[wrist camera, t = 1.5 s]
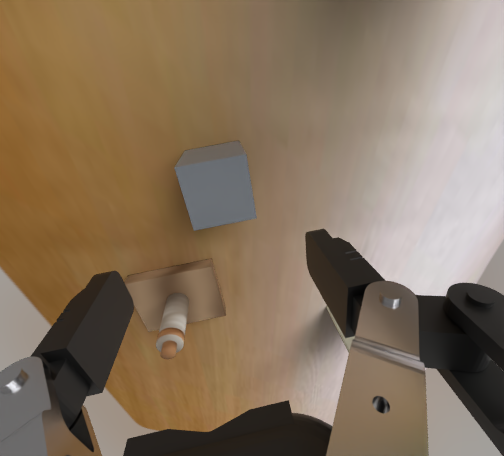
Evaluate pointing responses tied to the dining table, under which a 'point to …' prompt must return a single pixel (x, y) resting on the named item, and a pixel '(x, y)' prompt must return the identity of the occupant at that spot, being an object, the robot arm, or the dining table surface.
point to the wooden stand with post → (176, 301)
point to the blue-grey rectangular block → (216, 185)
